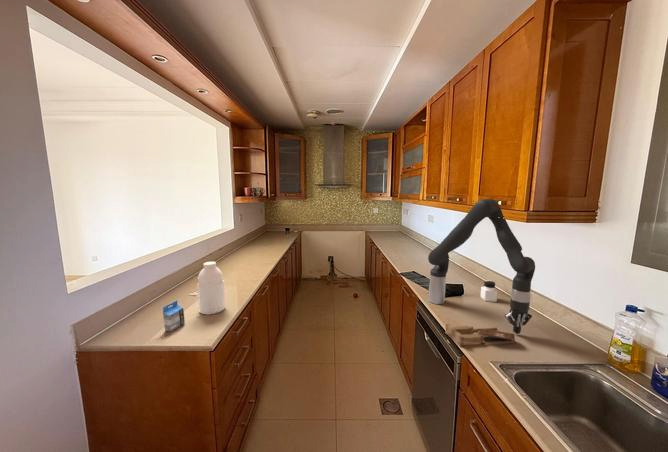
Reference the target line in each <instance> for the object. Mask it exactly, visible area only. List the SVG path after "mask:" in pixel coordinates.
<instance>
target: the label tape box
mask: <svg viewBox="0 0 668 452" xmlns="http://www.w3.org/2000/svg"><path fill="white" fill-rule="evenodd" d="M162 314H163V315H162V316H163V323H164V331H165V332H173V331H174V330H176V329H177V328H179V327H181V326H182V325H184V324H185V323H186V321H185V320H186V319H185V312H184V308H183V306H180V305H179V304H178V300H176V301H173V302H171V303H168V304H166V305H164V306H163V307H162Z"/></svg>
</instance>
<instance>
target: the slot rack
mask: <svg viewBox="0 0 668 452" xmlns="http://www.w3.org/2000/svg"><path fill="white" fill-rule="evenodd" d="M478 329H488V330H494V331H499V329H498V327H485V328H484V327H483V328H482V327H481V328H474V326H473V325H472V326H469V325H459V326H458V325H457V326H452V325H451V324H450V323H446V324H445V334H446V335H448V337H449V338H450V339H451V340H452V341H453V342H454V343H456V345H458V346H459V348H463V347H464V346H468V345H469V346H471V345H472V346H473V345H481V344H483V345H484V346H489V345H490V346H491V345H502V344H514V343H516V340H496V341H495V340H494V341H485V342H484V339H485V336H484V335H481V334H478ZM474 332H477V333H474Z"/></svg>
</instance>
